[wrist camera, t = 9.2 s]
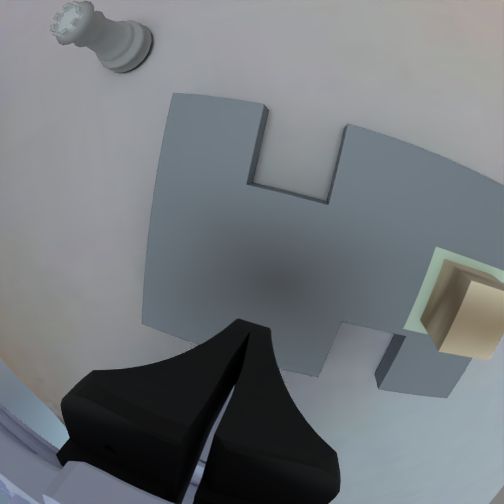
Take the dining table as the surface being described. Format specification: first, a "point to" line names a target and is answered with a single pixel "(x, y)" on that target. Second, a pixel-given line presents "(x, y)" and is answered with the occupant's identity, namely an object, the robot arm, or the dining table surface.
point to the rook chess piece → (103, 36)
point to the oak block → (465, 311)
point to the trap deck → (312, 242)
